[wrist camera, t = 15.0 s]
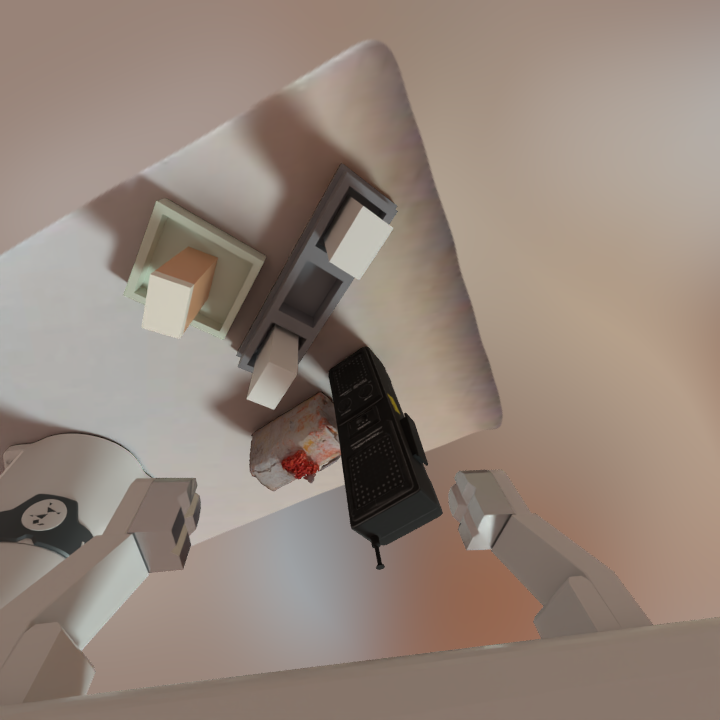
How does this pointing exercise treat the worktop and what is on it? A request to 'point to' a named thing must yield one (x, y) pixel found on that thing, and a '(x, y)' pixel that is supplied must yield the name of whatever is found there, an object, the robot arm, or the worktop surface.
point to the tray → (182, 229)
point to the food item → (296, 444)
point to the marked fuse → (178, 292)
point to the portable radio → (379, 454)
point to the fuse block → (314, 282)
